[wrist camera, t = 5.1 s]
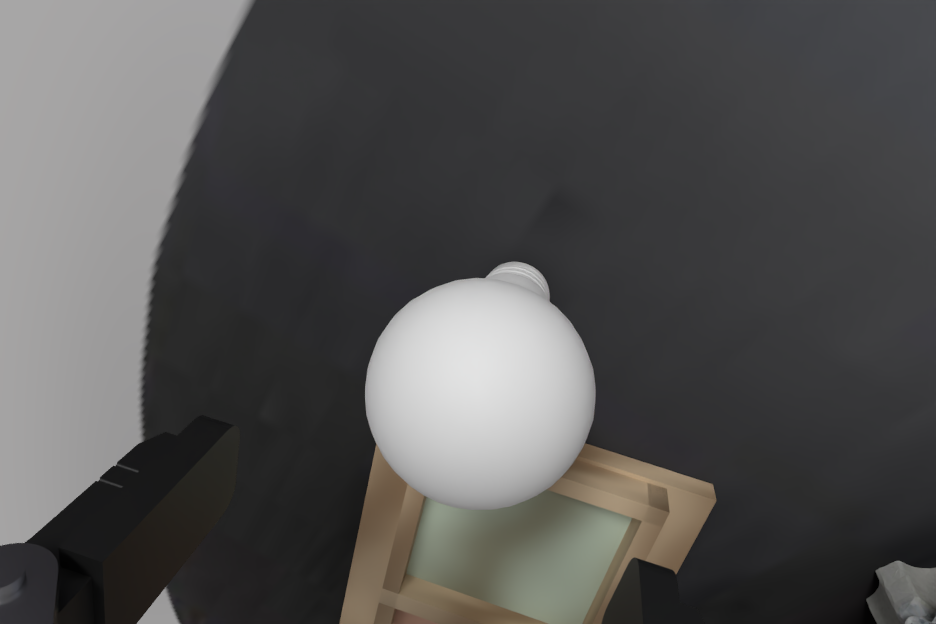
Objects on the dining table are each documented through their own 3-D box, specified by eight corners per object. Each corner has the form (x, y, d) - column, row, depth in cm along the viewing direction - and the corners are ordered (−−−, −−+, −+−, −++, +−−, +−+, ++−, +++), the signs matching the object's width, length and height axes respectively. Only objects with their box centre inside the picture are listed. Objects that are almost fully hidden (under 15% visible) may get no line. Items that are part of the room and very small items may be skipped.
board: (712, 484, 25) (722, 525, 23) (568, 752, 34) (566, 799, 32) (394, 382, 27) (375, 412, 24) (334, 665, 35) (316, 706, 33)
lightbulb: (525, 383, 25) (472, 602, 15) (412, 287, 25) (280, 452, 15) (634, 283, 23) (654, 470, 13) (510, 173, 22) (430, 281, 12)
